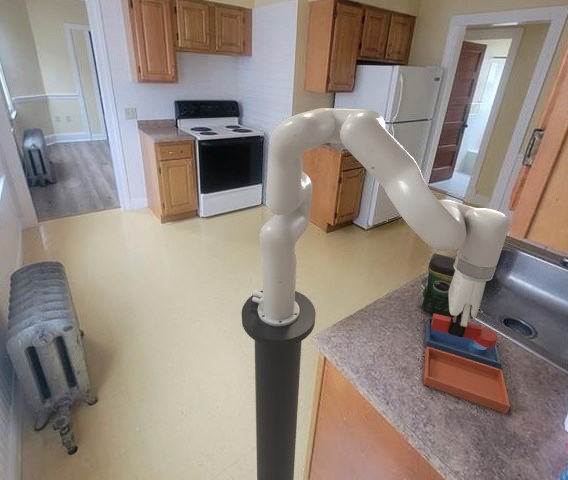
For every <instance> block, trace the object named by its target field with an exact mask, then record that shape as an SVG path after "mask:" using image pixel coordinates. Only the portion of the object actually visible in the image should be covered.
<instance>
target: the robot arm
mask: <svg viewBox="0 0 568 480" xmlns="http://www.w3.org/2000/svg"><path fill="white" fill-rule="evenodd" d="M268 143H269V144H268V164H267V165H268V166H267V167H268V168H267V179H266V180H267V181H266V192H265V193H266V194H265V195H266V196H265V197H266V198H265V199H266V200H265V201H266V206H267V208H268V209H269V211H270V212H271V213H272V214H273V215H272V216H271V217H270V218H269V219H268V220H267V221H266V222H265V223H264V224H263V225H262V226H261V229H260V231H259V236H258V237H259V238H258V239H259V245H260V249H261V256H262V257H261V258H262V290H263V293H261V292H260V291H259V290H256V289H254V290H253V291H252V294H251V296H254V297H253V298H252V301H254V302H257V303H259V306H258V315H259V317H260V319H261V320H262V321H263V322H265V323H266V324H269V325H272V326H286V325H289V324H291V323H293V322H294V321H295V320H296V319H297V318H298V316H299V311H300V310H299V305H298V304H297V302H296V301H295V291H296V283H297V256H296V253H295V251H296V250H295V246H296V244H297V242H298V241H299V240H300V238H301V237H302V235H303V234H304V233H305V232H306V230H307V229H308V226H309V224H310V217H311V208H312V202H313V201H312V200H313V191H314V190H313V183H312V181H311V179H310V177H309V175H308V174H307V173H306V172H304V171H303V170H304V169H303V168H304V160H303V154H305V152H308V151H312V150H315V149H317V148H319V147H321V146H323V145H324V144H326V143H327V144H342V145H343V146H344V147H345V149H346V150H347V151H348V153H350V154H351V155H352V156H353V157H354V159H356V160H357V162H359V163H360V164H361V166H363V168H364V169H366V170H367V172H368V173H369V174H370V175H371V176H372V177H373V178H374V179H375V180H376V181H377V182H378V183H379V185H380V186H381V187H382V189H383V190H384V191H385V193H386V196H387V198H389V200H390V201H391V203H392V204H393V206H394V207H395V209H396V211H397V212H398V214H399V215H400V216H401V217H402V219H403V221H404V222H405V223H406V224H407V225H408V226H409V228H410V229H411V230H412V231H413V232H414V233H415V234H416V235H417V236H418V237H419V238H420V239H421V240H422V241H423V242H424V243H426V245H428V246H429V247H431V248H432V249H434V250H437V251H438V252H439V251H440V252H452V251H455V250H457V251H456V255H455V257H454V258H455V262H454V269H455V273H454V276H453V279H452V282H451V285H450V288H449V293H448V296H449V311H450V316H449V317H451V318H453V319H451V322H450V325H449V329H448V333H449V334H451V335H455V336H458V337H463V336H464V333H465V329H466V327H467V323H468V322H469V319H470V322H472V321H474V320H476V318H477V315H478V314H479V313H478V312H479V310H480V307H481V303H482V300H483V295H484V292H485V287H486V283H487V282H489V281H491V280H492V279H493V278H494V275H495V273H496V269H497V266H498V263H499V260H500V256H501V254H502V250H503V247H504V245H505V242H506V240H507V239H506V238H507V235H508V233H509V230H510V226H511V221H510V218H509V217H508V216H507V215H506V214H504V213H503V212H500V211H498V210H495V209H491V208H485V207H478V208H477V207H474V206H469V205H466V204H463V203H460V202H457V201H454V200H449V199H438V198H437V197H436V196H435V195H434V193H433V192H432V190H431V189H430V187H429V186H428V184H427V182H426V181H425V178H424V177H423V174H422V170H421V169H420V167H419V165H418V163H417V161H416V160H415V158H414V157H413V156H412V155H411V154H410V153H409V152H408V151H407V150H406V149H405V148H404V147H403V145H401V144H400V142H398V141H397V140H396V138H394V136H392V134H391V133H390V132H389V131H388V130H387V129H386V122H385V119H384V118H383V116H382V115H381V114H380V113H379V112H377V111H376V110H374V109H369V108H336V107H335V108H333V107H330V108H329V107H320V108H315V109H311V110H307V111H303V112H300V113H298V114H295V115H292V116H290V117H287V118H286V119H284V120H282V121H280V122H279V123H278V124H277V125H276V127H275V128H274V129H273V130H272V132H271V135H270V138H269V142H268ZM256 297H257V298H256ZM258 298H260V299H258Z"/></svg>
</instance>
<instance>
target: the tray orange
mask: <svg viewBox="0 0 568 480" xmlns="http://www.w3.org/2000/svg"><path fill="white" fill-rule="evenodd" d="M423 364H424V365H423V385H424V386H427V387H430V388H433V389H436V390H438V391H442V392H444V393H447V394H450V395H452V396H455V397H458V398H461V399H463V400H466V401H469V402H472V403H475V404H478V405H480V406H484V407H486V408H489V409H492V410H495V411H498V412H499V413H503V414H506V415H507V414H508V413H509V411H510V408H511V403H510V399H509V395H508V391H507V385H506V380H505V376H504V371H503V369H501V368H499V369H498V368H495V367H492V366H489V365H485V364H482V363H479V362H476V361H473V360H470V359H466V358H463V357H460V356H457V355H454V354H450V353H447V352H444V351H441V350H438V349H434V348H431V347H428V346H427V347H426V348H425V352H424V363H423Z"/></svg>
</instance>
